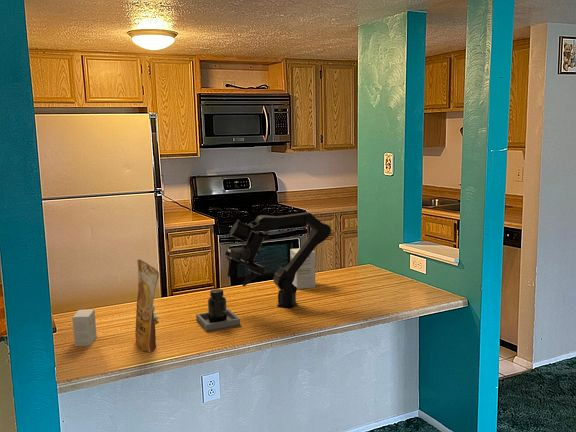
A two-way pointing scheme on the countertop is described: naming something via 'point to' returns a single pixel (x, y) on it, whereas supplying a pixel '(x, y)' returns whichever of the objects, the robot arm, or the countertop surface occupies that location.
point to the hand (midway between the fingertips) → (235, 281)
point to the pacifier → (154, 313)
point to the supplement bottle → (217, 306)
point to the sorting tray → (230, 322)
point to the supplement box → (304, 271)
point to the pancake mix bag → (146, 306)
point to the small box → (84, 327)
